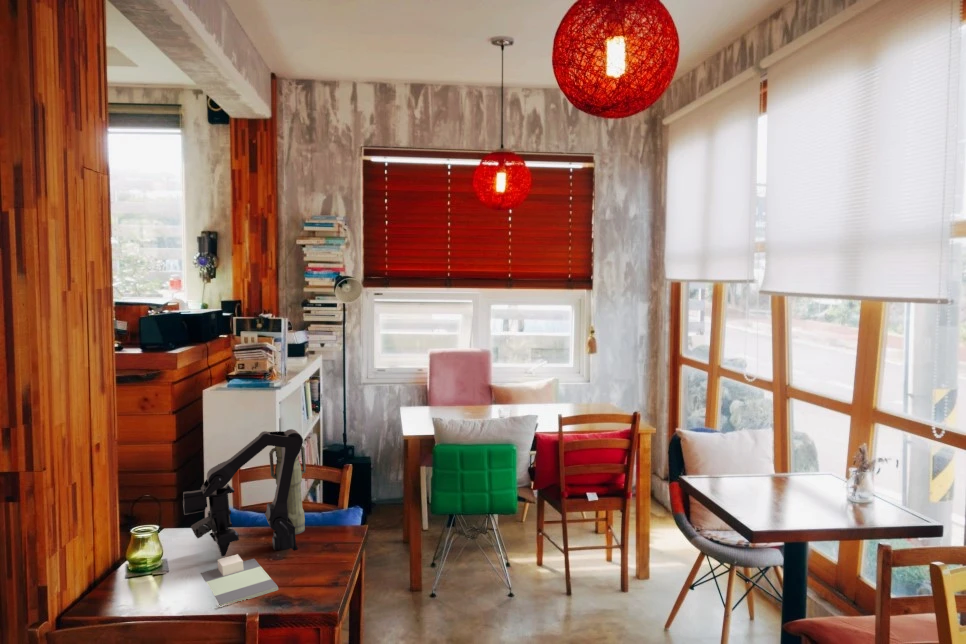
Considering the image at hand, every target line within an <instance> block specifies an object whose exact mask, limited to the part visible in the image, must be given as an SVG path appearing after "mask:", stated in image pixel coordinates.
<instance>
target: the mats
mask: <svg viewBox="0 0 966 644" xmlns="http://www.w3.org/2000/svg"><path fill="white" fill-rule="evenodd" d="M260 566H261V565H260V564H259V562H258V561H257V560H256V559H255V558H250V559H247V560H243V569H244V570H243V571H246V570H249V569H253V568H256V567H260ZM239 572H242V571H239ZM239 572H236V573H239ZM200 574H201V576H202V577H203V580H204V581H205V583H206V582H207V581H211V580H214V579H218V578H221V577H225V576H228V575H225V576H223V575H222V574H221V572H220V571H219V569H218V568H214V569H211V570H208V571H204V572H201V573H200ZM232 574H235V573H232ZM232 574H229V575H232ZM276 587H278V588H279V586H278V585H277V583H276V582H275V581H274V580H273V579H272V578H271V579H270V580H267V581H263V582H260V583H257V584H253V585H250V586H246V587H243V588H240V589H236V590H233V591H230V592H226V593H223V594H220V595H216V596H215V595H214V597H215V599H216V600H217V602H218V604H223V603H226V602H230V601H233V600H236V599H240V598H243V597H246V596H249V595H253V594H256V593H259V592H262V591H266V590H269V589H272V588H276Z"/></svg>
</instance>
